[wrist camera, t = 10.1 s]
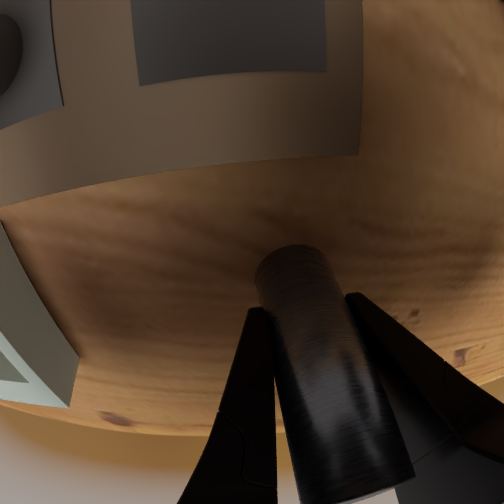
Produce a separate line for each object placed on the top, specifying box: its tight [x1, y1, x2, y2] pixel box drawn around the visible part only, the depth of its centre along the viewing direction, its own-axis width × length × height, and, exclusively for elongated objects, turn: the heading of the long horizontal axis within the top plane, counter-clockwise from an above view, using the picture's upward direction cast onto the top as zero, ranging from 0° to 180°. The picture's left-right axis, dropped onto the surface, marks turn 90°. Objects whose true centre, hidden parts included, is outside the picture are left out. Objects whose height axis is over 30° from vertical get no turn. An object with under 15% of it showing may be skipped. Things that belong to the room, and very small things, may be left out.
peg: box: [255, 245, 416, 504], centre depth 7 cm, size 2×2×7 cm
